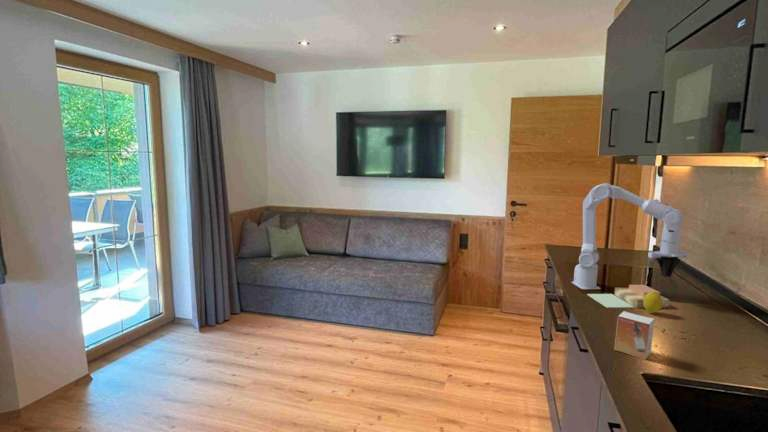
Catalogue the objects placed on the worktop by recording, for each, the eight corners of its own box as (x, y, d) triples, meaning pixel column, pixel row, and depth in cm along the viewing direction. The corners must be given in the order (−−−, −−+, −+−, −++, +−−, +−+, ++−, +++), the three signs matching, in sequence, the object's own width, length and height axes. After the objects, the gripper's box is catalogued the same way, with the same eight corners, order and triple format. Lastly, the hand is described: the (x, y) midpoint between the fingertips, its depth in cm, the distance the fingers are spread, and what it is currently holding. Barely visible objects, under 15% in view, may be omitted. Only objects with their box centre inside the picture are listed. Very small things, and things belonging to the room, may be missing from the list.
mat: (587, 294, 163) (587, 293, 163) (611, 294, 163) (611, 293, 163) (607, 308, 149) (607, 307, 149) (634, 307, 149) (634, 306, 149)
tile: (628, 289, 161) (629, 284, 160) (643, 289, 161) (644, 284, 160) (643, 297, 152) (644, 292, 151) (659, 297, 152) (660, 292, 152)
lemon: (657, 317, 141) (660, 295, 140) (639, 312, 145) (642, 291, 144) (663, 313, 144) (665, 292, 143) (645, 309, 148) (647, 288, 147)
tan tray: (614, 294, 163) (615, 287, 163) (643, 294, 164) (644, 287, 163) (636, 307, 150) (637, 300, 149) (668, 307, 150) (669, 300, 149)
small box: (613, 350, 117) (617, 315, 115) (619, 344, 121) (623, 310, 119) (645, 360, 111) (649, 324, 110) (651, 353, 115) (655, 318, 114)
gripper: (658, 243, 149) (654, 279, 151) (697, 243, 150) (692, 279, 152) (645, 239, 156) (642, 273, 158) (682, 239, 157) (678, 273, 159)
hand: (666, 276), depth 155 cm, fingers closed
